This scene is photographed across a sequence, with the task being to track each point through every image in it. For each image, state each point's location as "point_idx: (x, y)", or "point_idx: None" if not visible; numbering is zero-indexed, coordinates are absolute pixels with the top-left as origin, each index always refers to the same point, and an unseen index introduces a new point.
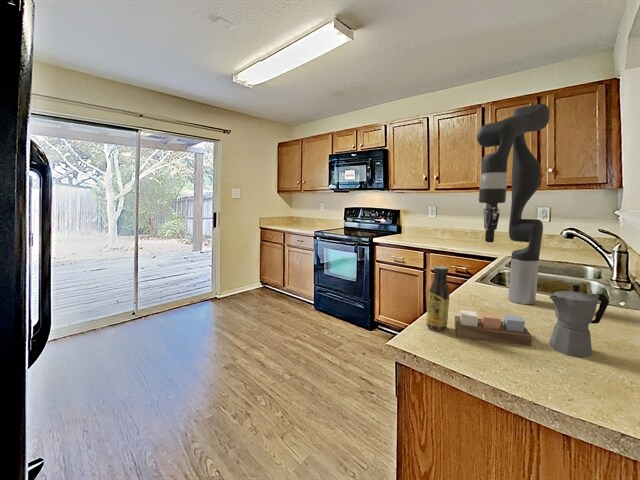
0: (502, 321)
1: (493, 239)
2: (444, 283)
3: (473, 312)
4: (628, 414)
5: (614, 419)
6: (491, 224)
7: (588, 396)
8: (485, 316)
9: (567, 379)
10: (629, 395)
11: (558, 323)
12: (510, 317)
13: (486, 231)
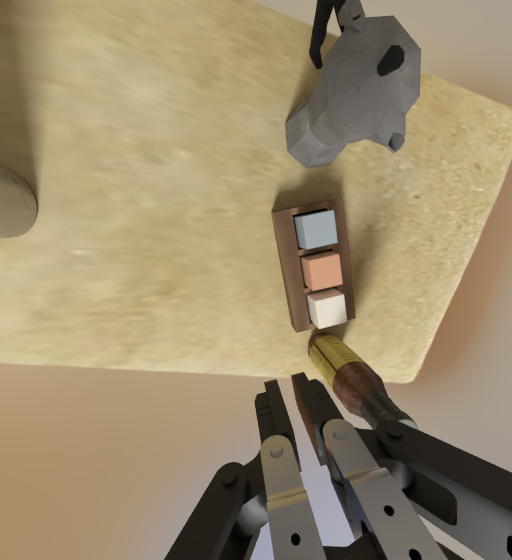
0: (283, 248)
1: (308, 381)
2: (384, 393)
3: (321, 305)
4: (489, 105)
5: (503, 125)
6: (242, 502)
7: (464, 142)
8: (336, 282)
9: (428, 160)
10: (444, 86)
11: (342, 144)
12: (319, 236)
13: (323, 459)
